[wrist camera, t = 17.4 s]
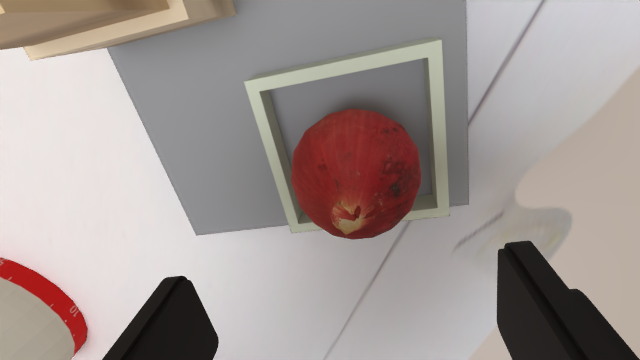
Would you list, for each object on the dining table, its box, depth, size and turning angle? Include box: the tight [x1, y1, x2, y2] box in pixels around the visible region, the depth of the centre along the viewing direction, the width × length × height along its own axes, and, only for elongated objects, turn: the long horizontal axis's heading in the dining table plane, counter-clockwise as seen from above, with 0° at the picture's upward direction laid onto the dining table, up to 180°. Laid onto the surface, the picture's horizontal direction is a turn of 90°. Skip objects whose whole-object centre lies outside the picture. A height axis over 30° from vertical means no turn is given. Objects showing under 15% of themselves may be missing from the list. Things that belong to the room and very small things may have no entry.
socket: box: [244, 37, 450, 233], centre depth 18 cm, size 9×9×2 cm
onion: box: [291, 108, 421, 239], centre depth 15 cm, size 6×6×8 cm
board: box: [107, 0, 469, 236], centre depth 17 cm, size 22×18×1 cm
